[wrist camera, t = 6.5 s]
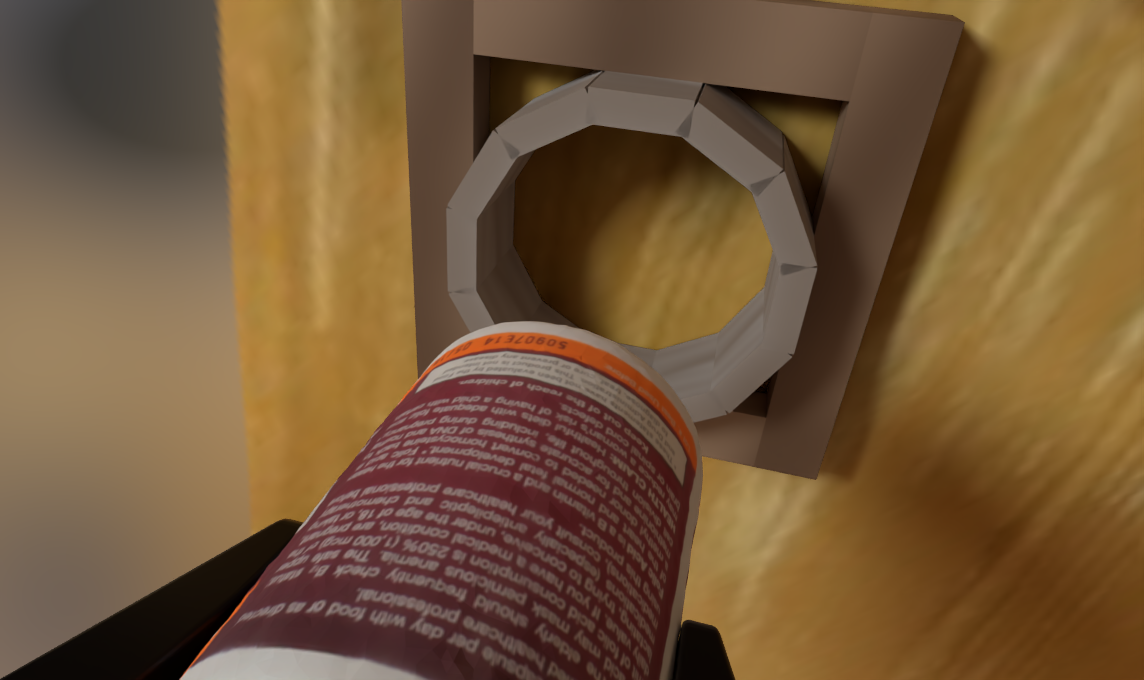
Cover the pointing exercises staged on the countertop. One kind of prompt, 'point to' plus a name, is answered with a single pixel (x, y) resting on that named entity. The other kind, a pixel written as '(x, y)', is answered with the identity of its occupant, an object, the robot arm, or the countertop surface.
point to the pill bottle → (491, 529)
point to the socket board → (718, 130)
